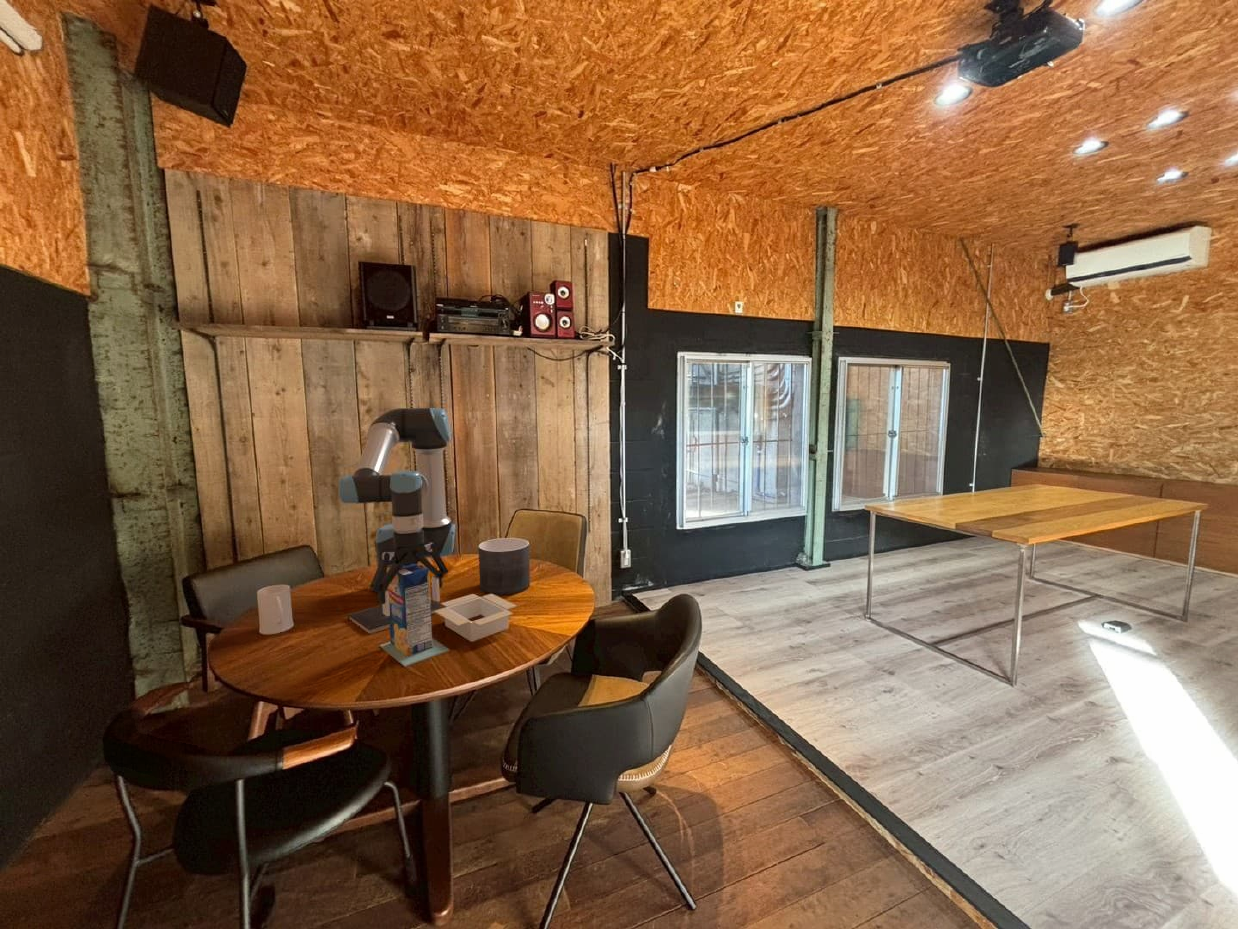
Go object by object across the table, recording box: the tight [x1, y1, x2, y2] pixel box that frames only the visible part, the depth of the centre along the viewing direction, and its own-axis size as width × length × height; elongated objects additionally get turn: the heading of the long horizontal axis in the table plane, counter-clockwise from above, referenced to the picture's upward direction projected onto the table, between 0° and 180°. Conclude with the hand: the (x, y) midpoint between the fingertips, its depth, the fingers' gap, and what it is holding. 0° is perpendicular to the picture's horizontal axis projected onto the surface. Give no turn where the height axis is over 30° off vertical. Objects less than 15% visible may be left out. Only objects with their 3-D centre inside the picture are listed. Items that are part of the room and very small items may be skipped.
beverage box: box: [387, 562, 433, 656], centre depth 139 cm, size 7×11×22 cm, turn 46°
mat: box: [379, 637, 450, 668], centre depth 140 cm, size 16×12×1 cm
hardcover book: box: [347, 599, 444, 635], centre depth 162 cm, size 16×23×2 cm
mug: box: [256, 584, 295, 635], centre depth 150 cm, size 12×8×12 cm
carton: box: [434, 593, 518, 643], centre depth 153 cm, size 22×19×6 cm
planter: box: [478, 537, 531, 596], centre depth 186 cm, size 18×18×16 cm
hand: (412, 607), depth 138 cm, fingers open, 13 cm apart
